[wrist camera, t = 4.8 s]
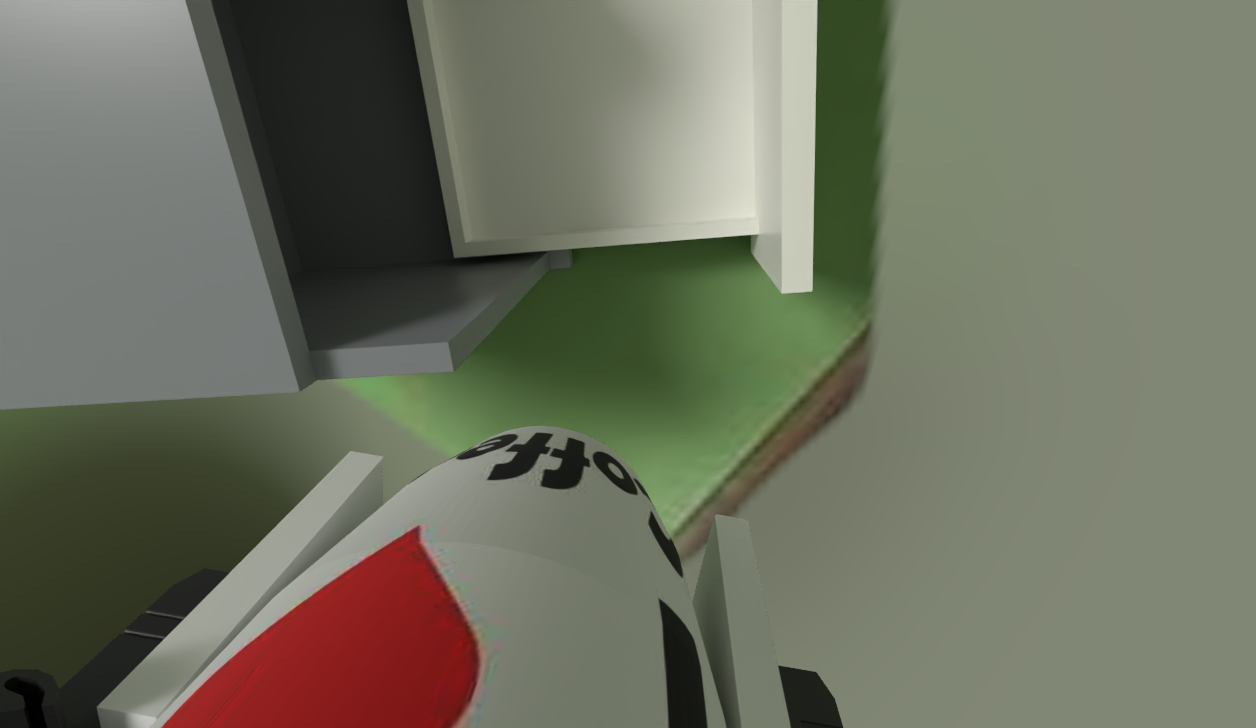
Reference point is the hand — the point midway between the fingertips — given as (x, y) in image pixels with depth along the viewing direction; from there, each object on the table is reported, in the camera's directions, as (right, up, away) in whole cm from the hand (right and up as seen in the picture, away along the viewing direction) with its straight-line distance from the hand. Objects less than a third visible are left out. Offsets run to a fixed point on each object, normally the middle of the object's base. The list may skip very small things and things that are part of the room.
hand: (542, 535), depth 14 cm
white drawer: (+1, +16, +12) cm, 20 cm away
